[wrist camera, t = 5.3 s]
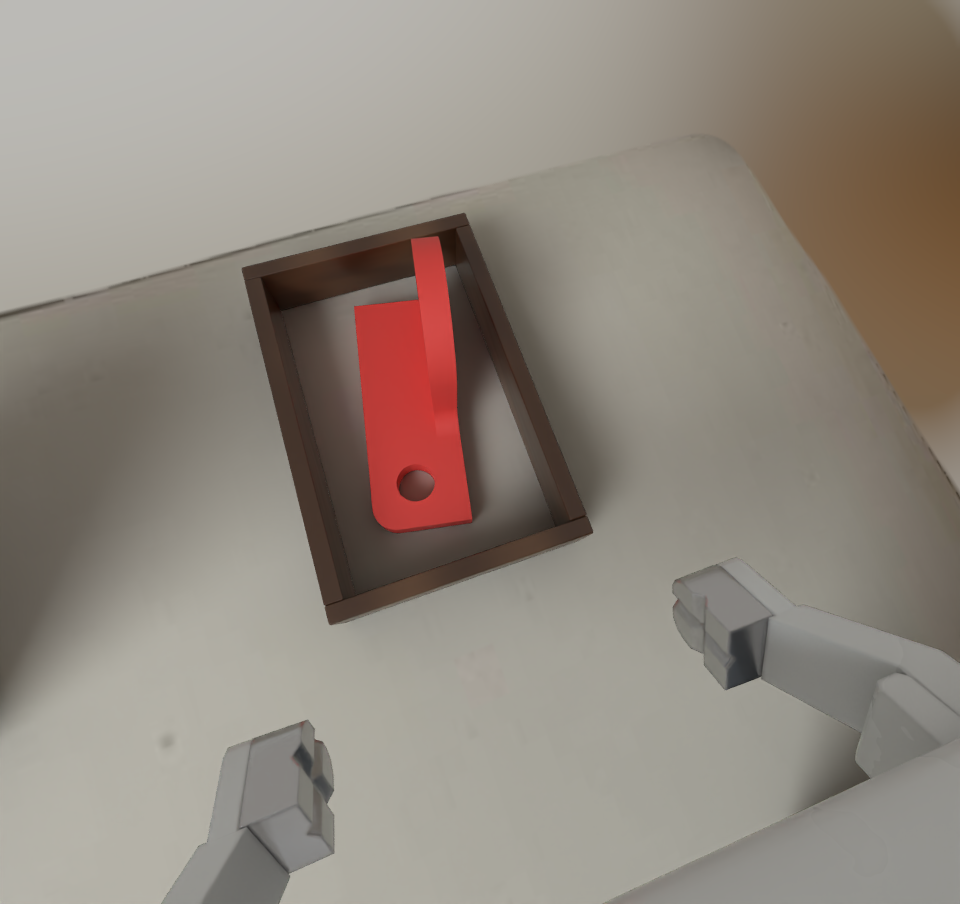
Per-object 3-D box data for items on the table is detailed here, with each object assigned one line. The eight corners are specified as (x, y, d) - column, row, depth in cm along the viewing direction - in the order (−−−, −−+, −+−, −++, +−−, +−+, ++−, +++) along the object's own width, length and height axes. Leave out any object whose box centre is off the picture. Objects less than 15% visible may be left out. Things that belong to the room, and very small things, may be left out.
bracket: (358, 318, 27) (320, 208, 20) (440, 309, 28) (434, 198, 20) (378, 536, 24) (341, 505, 16) (471, 522, 24) (478, 486, 17)
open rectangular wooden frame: (464, 250, 29) (465, 211, 26) (578, 540, 24) (594, 532, 21) (263, 302, 27) (240, 267, 24) (344, 622, 23) (328, 625, 20)
